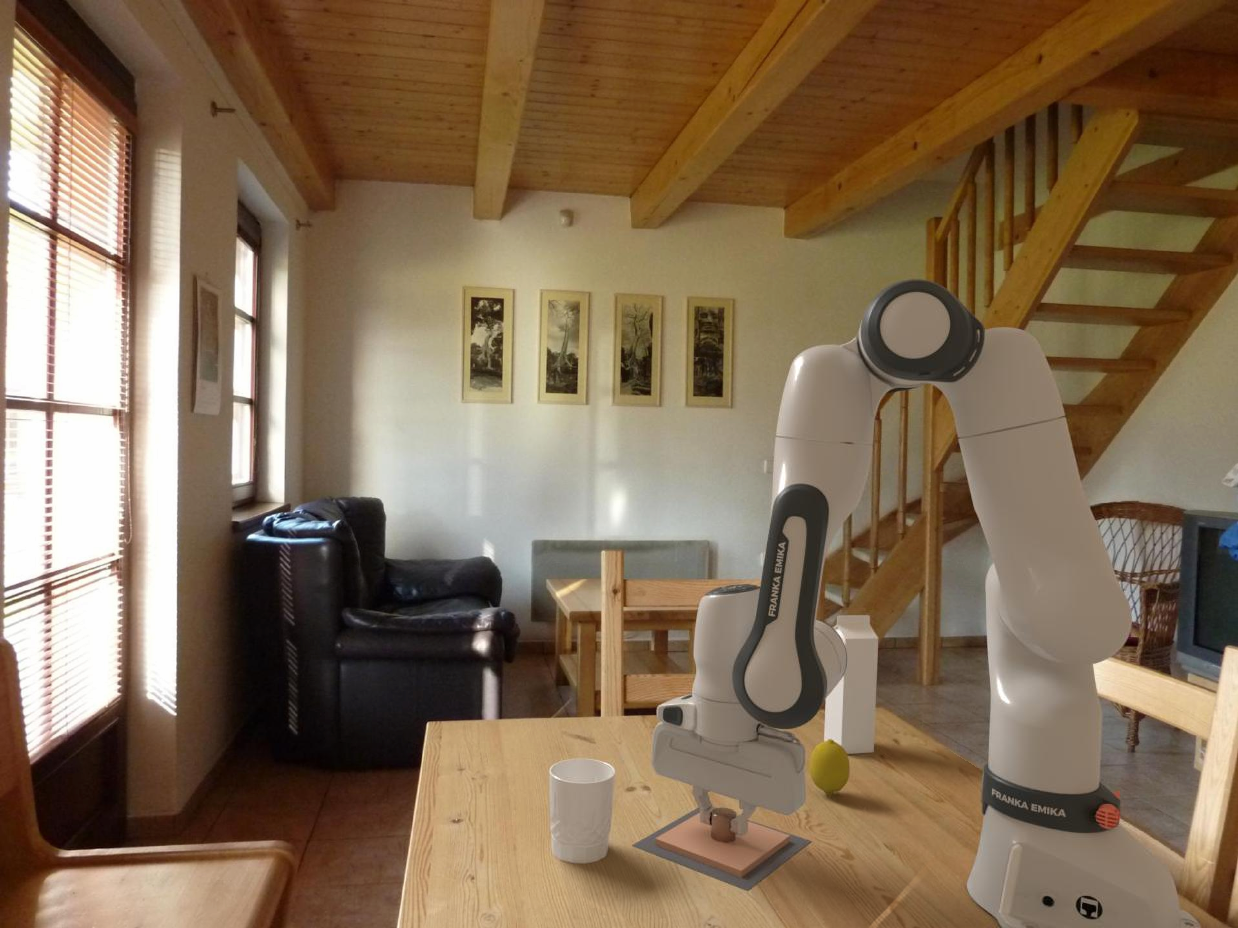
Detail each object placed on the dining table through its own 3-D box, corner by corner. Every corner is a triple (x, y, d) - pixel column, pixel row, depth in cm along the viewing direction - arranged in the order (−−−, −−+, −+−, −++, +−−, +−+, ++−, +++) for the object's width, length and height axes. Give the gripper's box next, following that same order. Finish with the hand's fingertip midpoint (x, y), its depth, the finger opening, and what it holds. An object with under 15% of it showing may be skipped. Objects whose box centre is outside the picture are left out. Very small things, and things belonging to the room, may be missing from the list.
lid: (789, 841, 108) (791, 811, 108) (741, 877, 98) (742, 844, 98) (707, 813, 115) (708, 785, 115) (654, 844, 106) (656, 813, 106)
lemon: (849, 804, 121) (851, 747, 120) (808, 800, 122) (811, 743, 122) (847, 789, 126) (849, 734, 126) (808, 785, 127) (810, 731, 127)
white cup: (557, 834, 109) (559, 755, 108) (618, 842, 107) (621, 761, 107) (538, 863, 101) (541, 778, 101) (604, 872, 99) (607, 786, 99)
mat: (811, 844, 108) (811, 840, 108) (747, 893, 96) (747, 890, 96) (702, 807, 118) (702, 804, 118) (631, 848, 105) (631, 845, 105)
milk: (823, 742, 146) (827, 611, 146) (856, 740, 148) (860, 611, 147) (841, 754, 140) (845, 619, 140) (875, 752, 142) (879, 618, 141)
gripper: (817, 729, 103) (813, 845, 103) (674, 694, 115) (670, 797, 115) (793, 742, 98) (788, 864, 98) (646, 704, 110) (642, 812, 110)
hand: (723, 827), depth 107 cm, fingers closed on lid, 3 cm apart
